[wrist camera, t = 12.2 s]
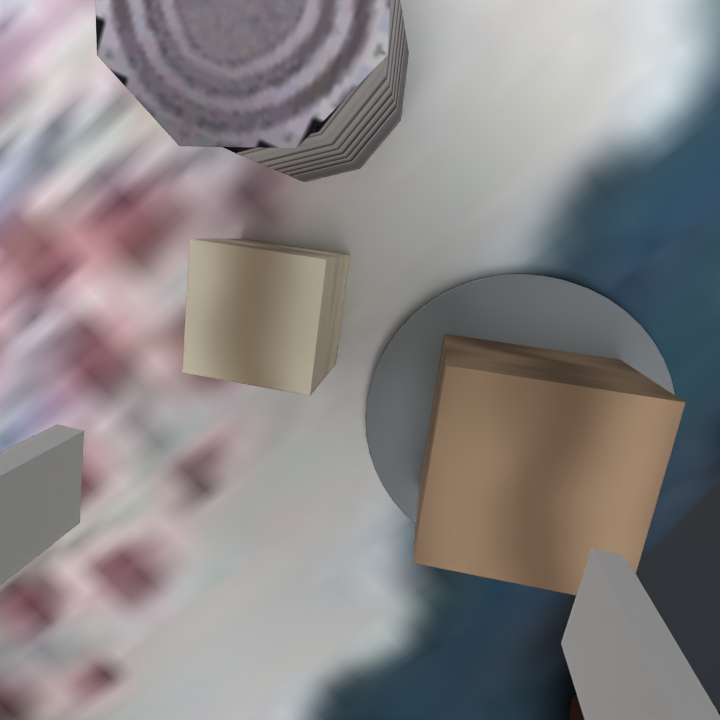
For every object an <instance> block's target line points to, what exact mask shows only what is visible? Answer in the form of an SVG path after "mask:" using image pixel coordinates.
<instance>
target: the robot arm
mask: <svg viewBox="0 0 720 720" xmlns="http://www.w3.org/2000/svg"><path fill="white" fill-rule="evenodd" d="M83 438H84V431H82V430H78V429H74V428H69V427H65V426H61V425H55V426H53V427H51V428H49V429H47V430H45V431H43V432H41V433H39V434H37V435H35V436H33V437H31V438H29V439H27V440H24V441H22V442H20V443H18V444H16V445H14V446H12V447H10V448H8V449H6V450H4V451H2V452H0V585H2V584H3V583H4V582H5V581H7V580H8V579H9V578H11V577H12V576H13V575H14V574H16V573H17V572H18V571H19V570H21V569H22V568H23V567H24V566H26V565H27V564H28V563H30V562H31V561H32V560H33V559H35V558H36V557H37V556H38V555H40V554H41V553H42V552H43V551H45V550H46V549H47V548H48V547H50V546H51V545H52V544H54V543H55V542H56V541H57V540H59V539H60V538H61V537H62V536H64V535H65V534H66V533H67V532H69V531H70V530H71V529H72V528H74V527H75V526H76V525H78V524H79V523H80V503H81V481H82V460H83ZM561 645H562V648H563V652H564V655H565V658H566V661H567V665H568V668H569V671H570V674H571V677H572V681H573V684H574V687H575V690H576V694H577V697H578V700H579V703H580V706H581V710H582V713H583V716H584V719H585V720H720V712H719V711H717V710H716V708H715V707H714V705H713V703H712V702H711V700H710V698H709V697H708V695H707V693H706V692H705V690H704V688H703V687H702V685H701V683H700V682H699V680H698V678H697V676H696V675H695V673H694V672H693V670H692V668H691V667H690V665H689V663H688V662H687V660H686V658H685V656H684V655H683V653H682V651H681V650H680V648H679V646H678V645H677V643H676V641H675V640H674V638H673V636H672V635H671V633H670V631H669V630H668V628H667V626H666V625H665V623H664V621H663V620H662V618H661V616H660V615H659V613H658V611H657V610H656V608H655V606H654V604H653V603H652V601H651V599H650V598H649V596H648V595H647V593H646V591H645V589H644V588H643V586H642V584H641V583H640V581H639V579H638V578H637V576H636V574H635V573H634V571H633V569H632V568H631V566H630V564H629V563H628V561H627V559H626V558H625V556H622V555H618V554H613V553H609V552H605V551H600V550H596V549H591V552H590V556H589V559H588V562H587V565H586V568H585V571H584V574H583V577H582V580H581V583H580V586H579V589H578V593H577V596H576V599H575V602H574V605H573V608H572V611H571V614H570V617H569V620H568V623H567V626H566V629H565V633H564V636H563V639H562V642H561Z"/></svg>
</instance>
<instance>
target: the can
mask: <svg viewBox="0 0 720 720" xmlns="http://www.w3.org/2000/svg"><path fill="white" fill-rule="evenodd" d="M95 3H96V35H97V56H98V57H99V58H100V59H101V60H102V61H103V62H104V63H105V64H106V65H107V67H108V68H109V69H110V70H111V71H112V72H113V73H114V74H115V75H116V77H117V78H118V79H119V80H120V81H121V82H122V83H123V84H124V85H125V86H126V88H127V89H128V90H129V91H130V92H131V93H132V94H133V95H134V96H135V97H136V99H137V100H138V101H139V102H140V103H141V104H142V105H143V106H144V107H145V109H146V110H147V111H148V112H149V113H150V114H151V115H152V116H153V117H154V118H155V120H156V121H157V122H158V123H159V124H160V125H161V126H162V127H163V128H164V129H165V131H166V132H167V133H168V134H169V135H170V136H171V137H172V138H173V139H174V141H175V142H176V143H177V144H178V145H179V146H203V147H224V148H226V149H228V150H230V151H232V152H235V153H237V154H239V155H241V156H244V157H246V158H249V159H251V160H253V161H256V162H258V163H260V164H263V165H265V166H268V167H270V168H272V169H275V170H277V171H279V172H282V173H284V174H287V175H289V176H291V177H294V178H296V179H298V180H301V181H303V182H306V181H310V180H314V179H318V178H323V177H327V176H331V175H335V174H339V173H344V172H348V171H352V170H356V169H360V168H361V167H362V166H363V164H364V163H365V162H366V161H367V160H368V159H369V157H370V156H371V155H372V154H373V153H374V151H375V150H376V149H377V148H378V147H379V145H380V144H381V143H382V142H383V141H384V139H385V138H386V137H387V136H388V135H389V134H390V132H391V131H392V130H393V129H394V128H395V126H396V125H397V124H398V123H399V122H400V120H401V113H402V104H403V96H404V88H405V79H406V71H407V63H408V54H409V52H408V46H407V40H406V34H405V28H404V22H403V16H402V9H401V3H400V0H95Z"/></svg>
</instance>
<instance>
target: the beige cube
mask: <svg viewBox="0 0 720 720" xmlns="http://www.w3.org/2000/svg"><path fill="white" fill-rule="evenodd" d="M349 257H350V255H345V254H339V253H332V252H325V251H319V250H312V249H305V248H299V247H292V246H285V245H279V244H272V243H265V242H259V241H252V240H245V239H190V249H189V266H188V284H187V301H186V319H185V336H184V354H183V372H182V373H188V374H193V375H199V376H204V377H210V378H215V379H221V380H226V381H232V382H237V383H243V384H248V385H254V386H259V387H265V388H270V389H276V390H281V391H287V392H292V393H298V394H303V395H309V396H310V395H311V394H312V393H313V391H314V390H315V389H316V388H317V386H318V385H319V384H320V383H321V382H322V380H323V379H324V378H325V377H326V375H327V374H328V373H329V372H330V370H331V369H332V368H333V367H334V366H335V364H336V356H337V348H338V341H339V333H340V326H341V318H342V311H343V303H344V295H345V288H346V280H347V273H348V265H349Z"/></svg>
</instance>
